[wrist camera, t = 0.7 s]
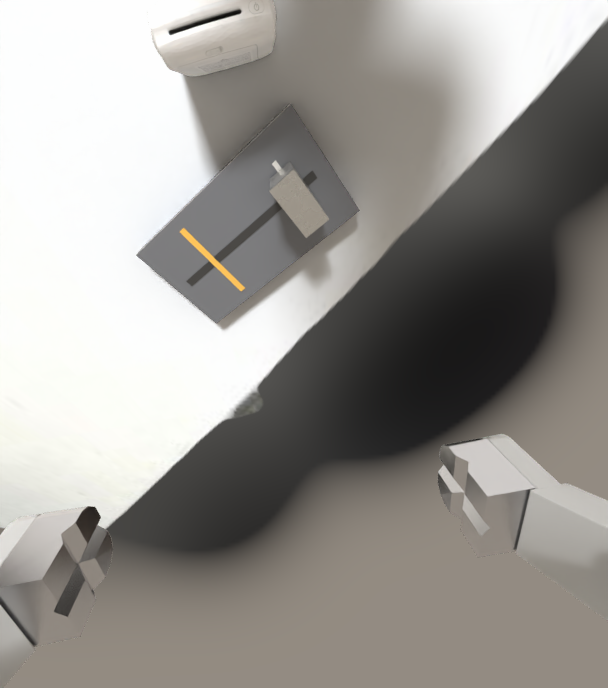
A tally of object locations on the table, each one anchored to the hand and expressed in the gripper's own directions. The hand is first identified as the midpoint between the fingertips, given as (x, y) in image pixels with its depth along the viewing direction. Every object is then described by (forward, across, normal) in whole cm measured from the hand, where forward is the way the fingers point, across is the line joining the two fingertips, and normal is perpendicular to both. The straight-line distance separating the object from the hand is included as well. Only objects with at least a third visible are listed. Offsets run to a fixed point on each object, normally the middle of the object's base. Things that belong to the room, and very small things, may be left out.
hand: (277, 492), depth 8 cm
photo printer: (+38, +1, -22) cm, 44 cm away
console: (+42, +2, -4) cm, 43 cm away
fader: (+38, -5, -7) cm, 39 cm away
